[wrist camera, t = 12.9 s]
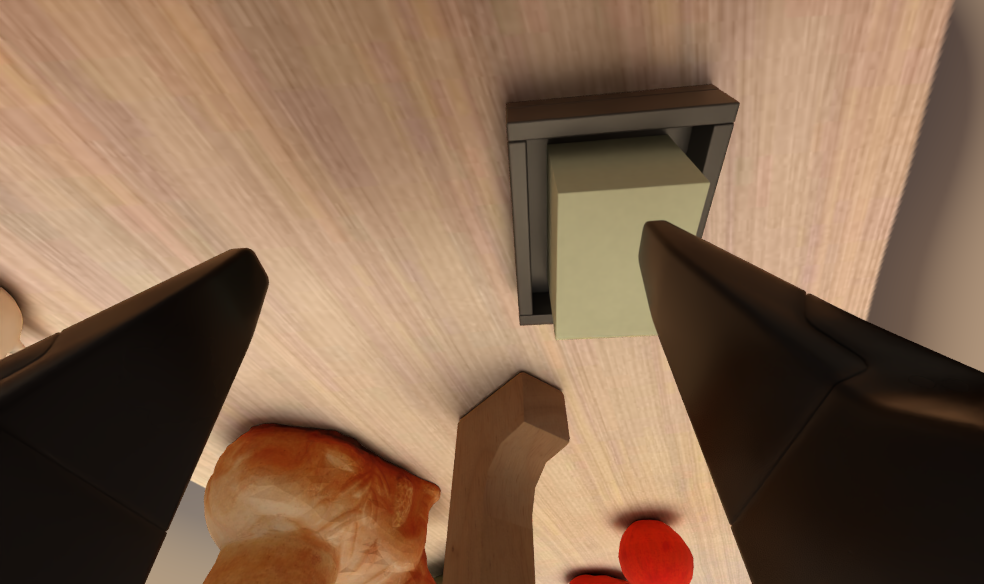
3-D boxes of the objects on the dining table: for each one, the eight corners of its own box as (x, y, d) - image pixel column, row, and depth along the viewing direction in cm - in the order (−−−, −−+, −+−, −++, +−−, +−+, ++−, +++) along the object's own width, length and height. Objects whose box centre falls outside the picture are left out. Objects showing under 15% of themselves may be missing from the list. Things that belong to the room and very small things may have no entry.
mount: (505, 102, 18) (506, 122, 16) (712, 83, 18) (741, 102, 16) (518, 294, 26) (519, 326, 24) (664, 286, 25) (679, 318, 23)
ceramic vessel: (400, 530, 52) (371, 693, 41) (203, 444, 39) (79, 649, 28) (483, 504, 47) (477, 685, 35) (286, 394, 33) (173, 625, 22)
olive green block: (546, 144, 19) (557, 193, 15) (668, 134, 18) (711, 182, 15) (547, 278, 24) (555, 340, 20) (642, 273, 24) (669, 335, 20)
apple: (669, 502, 45) (693, 581, 40) (688, 526, 49) (712, 601, 44) (602, 516, 48) (615, 592, 42) (625, 538, 52) (640, 609, 47)
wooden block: (521, 368, 31) (536, 709, 17) (565, 390, 32) (610, 717, 19) (456, 420, 35) (426, 718, 22) (497, 437, 37) (493, 724, 23)
